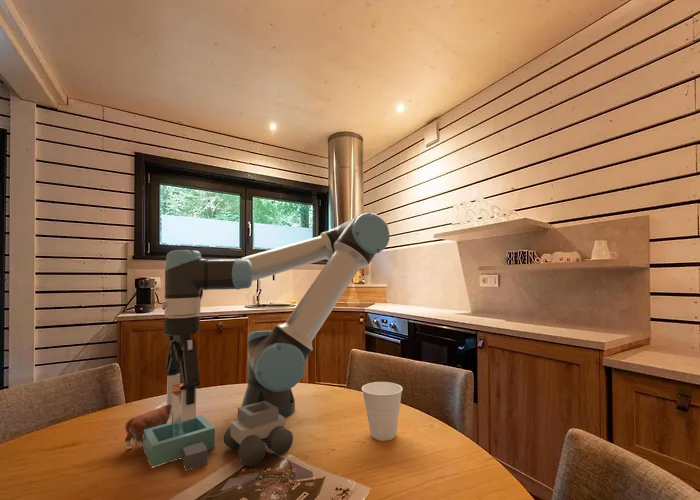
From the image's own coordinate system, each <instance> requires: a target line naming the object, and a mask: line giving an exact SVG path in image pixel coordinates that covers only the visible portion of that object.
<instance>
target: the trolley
mask: <svg viewBox="0 0 700 500" xmlns="http://www.w3.org/2000/svg"><path fill="white" fill-rule="evenodd" d="M285 418H286V417H283V416H282V415H280V414H278V408H277V407H276V406H274V405H272V404H270V403H269V402H267V401H261V402H258V403H254V404H250V405H246V406H243V407H241V406H239V407H237V419H236V420H233V421H230V425H229V426H228V427H227V428H226V430H225V431H224V433H223V442H224V444H225V446H226V447H228V449H229V450H231V451H234V452H235V451H236V452H237V455H238V458H239V460H241V462H242V463H243V464H244V465H246V466H247V467H254V466H255V467H256V466H257V465H258V464H260V462H262V461H263V459H264V457H265V455H266V452H267V451H266V450H267V448H268V449H269V450H270V451H271V452H273V453H274V454H275V455H277V456H281V455H282V456H283V455H284V454H286V453H288V452H289V450H290V449H291V448H292V445H293V440H294V436H293V432H291V431H290V430H289V429H287V428H285V427H286V426H285V425H286V424H285V423H286V422H285V421H286V420H285ZM265 441H266V443H265Z"/></svg>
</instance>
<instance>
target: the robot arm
mask: <svg viewBox="0 0 700 500" xmlns="http://www.w3.org/2000/svg"><path fill="white" fill-rule="evenodd" d="M390 237H391V234H390V231H389V227H388V224H387V223H386V220H384V219H383V218H382V217H381V216H380V215H378V214H376V213H371V212H365V213H361V214H358V215H357V216H355V217H354V218H351V219H349V220H347V221H345V222H343V223H341V224H339V225H338V226H336V227H334V228H332V229H329V230H326V231H323V232H321V233H320V235H319V236H316V237H312V238H310V239H305V240H301V241H298V242H294V243H290V244H287V245H283V246H279V247H276V248H273V249H269V250H264V251H261V252H258V253H253V254H250V255H247V256H243V257H241V258H228V259H227V258H223V259H222V258H219V259H218V258H217V259H208V258H203V257H202V253H201V252H200V251H199V250H189V249H176V250H170V251H169V252H168V253H166V258H165V269H164V302H163V303H161V307H162V308H164V315H163V316H165V318H164V319H163V334H164V335H166V336H168V339H169V340H168V350H167V355H166V360H165V362H166V363H165V368H164V370H165V372H166V374H167V376H166V379H167V380H166V381H167V382H166V384H167V385H166V402H167V404H171V403H172V395H173V393H172V392H171V386H172V385H175V384H180V383H181V381H182V383H183V386H181V387H180V390H182V404H181V421H182V422H183V421H186V420H190V419H194V418H196V416H197V387H200V384H201V381H200V373H199V372H200V371H199V364H198V354H197V340H196V339H192V336H191V335H192V334H196V333H199V332H200V329H201V326H200V325H201V317H200V316H199V314H201V291H208V290H217V291H219V290H243V289H249V288H251V286H252V284H253V282H255V281H258V280H261V279H264V278H268V277H270V276H271V277H272V276H275V275H278V274H280V273H284V272H287V271H290V270H294V269H298V268H302V267H304V266H307V265H310V264H313V263H317V262H321V261H325V260H327V262H326V264H325V265H324V266H323V268H322V270H321V271H320V272H319V273H318V275H317V277H316V278H315V279H314V281H313V282H312V284H311V285H310V286H309V288H308V289H307V291H306V292H305V294H304V295H303V296H302V297H301V299H300V301H299V302H298V303H297V305H296V306H295V308H294V309H293V311H292V312H291V313H290V315H289V316H288V318H286V319H287V320H286V321H285V322H283V323H279V324H276V325H275V326H274V328H273V329H271V330H270V329H269V330H258V331H256V330H255V331H251V332H250V333H249V334H248V336H247V337H248V338H247V342H246V343H247V347H248V348H247V387H246V390H245V393H244V396H243V399H242V403H241V405H240V407H243V406H246V405H250V404H254V403H258V402H261V401H267V402H269V403H270V404H272V405H274V406H276V407H277V408H278V414H280V415H282V416H283V417H285V418H286V417H289V416H290V415H292V414H293V413H294V411H296V399H295V397H294V394H293V391H292V388H294V387H295V386H296V385H298V383H300V381H301V380H302V378H303V376H304V374H305V370H306V362H307V359H308V358H309V356H310V355H311V353H312V351H314V350H313V340H314V338H315V337H316V335H317V333H318V332H319V331H320V329H321V328H322V326H323V325H324V323H325V322H326V320H327V319H328V317H329V316H330V314H331V312H332V311H333V309H334V308H335V307H336V305H337V303H338V302H339V301H340V299H341V298H342V297H343V294H344V293H345V292H346V290H347V288H348V287H349V285H350V284H351V282H352V281H353V279H354V277H355V276H356V274H357V273H358V271H360V269H366V268H367V267H368V266H369V265H370V263H371V262H372V260H373V258H374V257H375V255H377V254H379V253H381V252H382V251H384V250H385V249H386V248H387V246H388V244H389V242H390ZM181 379H182V380H181Z"/></svg>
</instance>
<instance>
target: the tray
mask: <svg viewBox="0 0 700 500" xmlns="http://www.w3.org/2000/svg"><path fill="white" fill-rule="evenodd" d="M171 430H172V421H170V422H167V424H163V425H159V426H156V427H152V428H148V429H144V430H143V448H144V451H145V453H146V455H147V458H148V460H149V462H150V464H151V467H152V466H156V465H159V464H162V463H165V462H169V461H172V460H175V459H179V458H182V454H183V447H186V446H189V445H193V444H197V443H200V442H204V444H205V446H206V448H207V451H209V450H211V449H215V448H216V447H215V443H216V442H215V440H216V433H215V432H216V428H215V426H213V424H212V423H210V422H209V421H208V419H206V418H205V417H204V416H203V415H202V414H198V415H196V418H194V419H190V420H187V421H186V434H183V435H180V436H176V437H173V438H171ZM143 448H142V449H143ZM144 451H143V452H144ZM145 453H144V454H145ZM147 458H146V459H147ZM148 460H147V461H148ZM179 460H180V459H179ZM149 462H148V463H149ZM150 464H149V465H150ZM151 467H150V468H151Z"/></svg>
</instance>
